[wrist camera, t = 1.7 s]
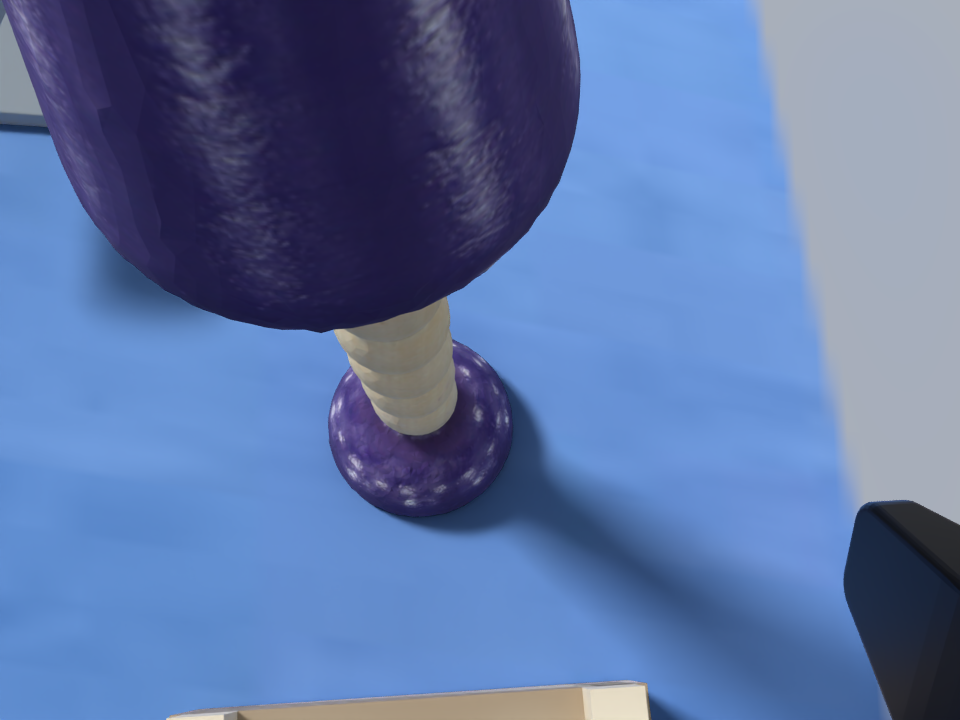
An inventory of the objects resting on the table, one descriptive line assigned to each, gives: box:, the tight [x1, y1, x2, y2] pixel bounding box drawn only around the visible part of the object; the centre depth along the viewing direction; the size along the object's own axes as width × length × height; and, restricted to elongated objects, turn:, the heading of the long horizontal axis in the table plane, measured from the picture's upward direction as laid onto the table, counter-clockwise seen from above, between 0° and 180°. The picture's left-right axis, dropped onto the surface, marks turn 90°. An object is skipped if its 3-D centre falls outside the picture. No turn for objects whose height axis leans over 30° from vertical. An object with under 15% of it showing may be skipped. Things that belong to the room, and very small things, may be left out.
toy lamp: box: [2, 0, 580, 517], centre depth 12 cm, size 5×5×17 cm
